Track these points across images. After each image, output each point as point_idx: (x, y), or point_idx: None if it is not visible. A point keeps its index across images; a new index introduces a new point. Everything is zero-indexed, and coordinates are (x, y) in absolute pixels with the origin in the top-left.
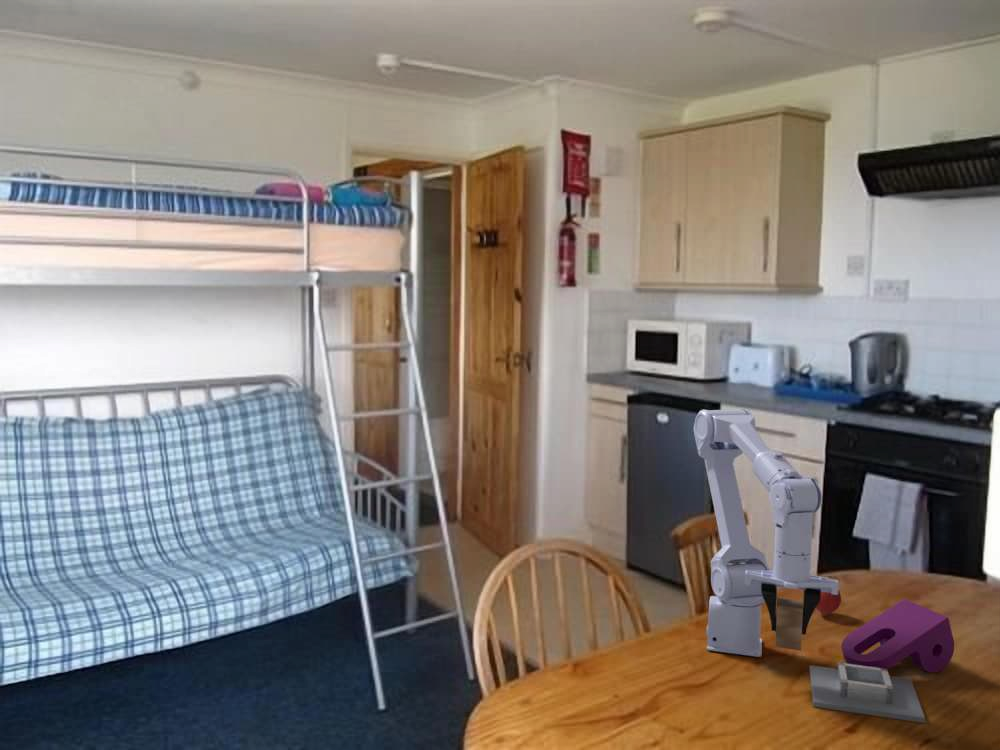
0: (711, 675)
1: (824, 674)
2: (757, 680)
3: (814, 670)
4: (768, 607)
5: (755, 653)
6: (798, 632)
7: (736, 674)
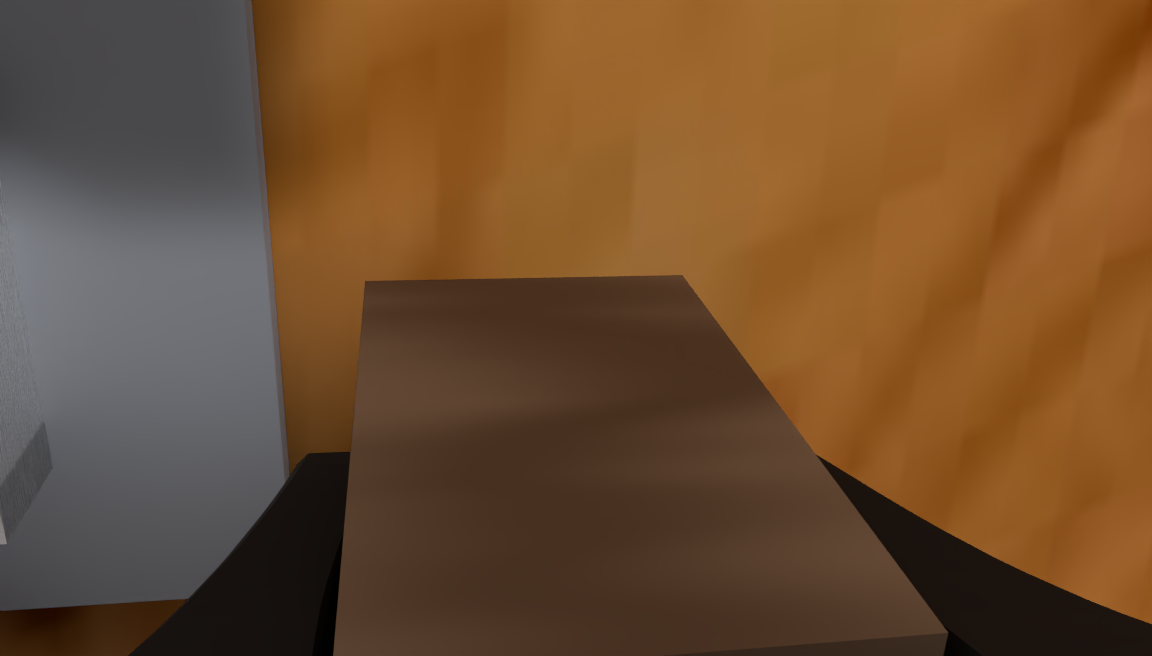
0: (1056, 210)
1: (163, 470)
2: (710, 242)
3: (251, 514)
4: (1074, 602)
5: None
6: (410, 388)
7: (863, 294)
